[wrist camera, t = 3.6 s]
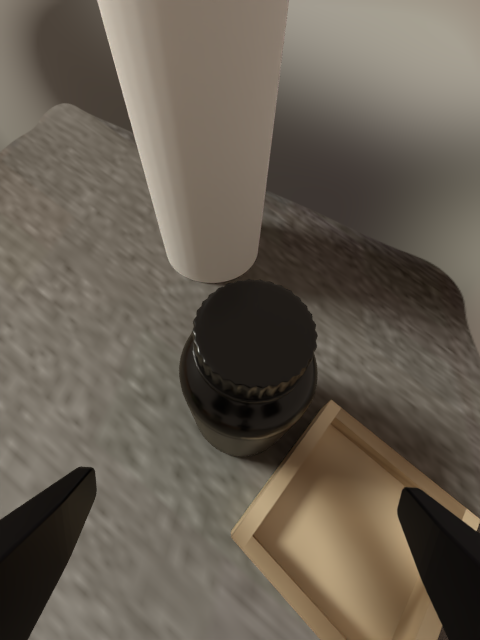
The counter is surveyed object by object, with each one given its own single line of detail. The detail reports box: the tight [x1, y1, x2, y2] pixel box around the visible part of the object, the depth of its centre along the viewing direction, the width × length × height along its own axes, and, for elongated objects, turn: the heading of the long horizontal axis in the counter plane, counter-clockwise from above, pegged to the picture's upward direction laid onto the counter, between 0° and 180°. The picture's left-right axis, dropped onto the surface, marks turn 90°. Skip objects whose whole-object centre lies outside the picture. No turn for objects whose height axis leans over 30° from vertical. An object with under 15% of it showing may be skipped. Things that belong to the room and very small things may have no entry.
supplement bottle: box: [179, 279, 318, 456], centre depth 16 cm, size 7×7×12 cm
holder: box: [231, 400, 480, 640], centre depth 16 cm, size 10×10×2 cm
